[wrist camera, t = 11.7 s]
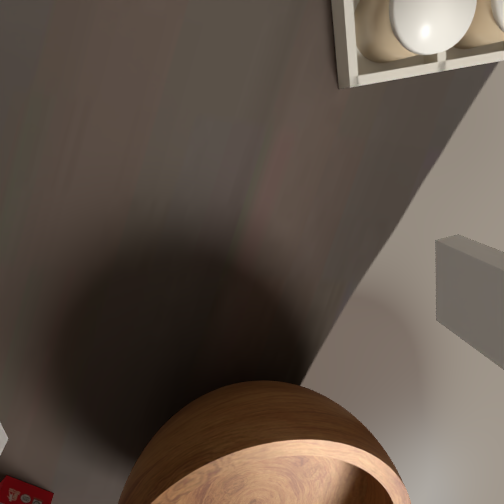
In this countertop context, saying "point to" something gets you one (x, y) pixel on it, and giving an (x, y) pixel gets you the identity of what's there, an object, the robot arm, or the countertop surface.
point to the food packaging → (22, 493)
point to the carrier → (368, 72)
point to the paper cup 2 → (484, 25)
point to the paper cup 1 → (410, 27)
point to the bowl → (264, 453)
